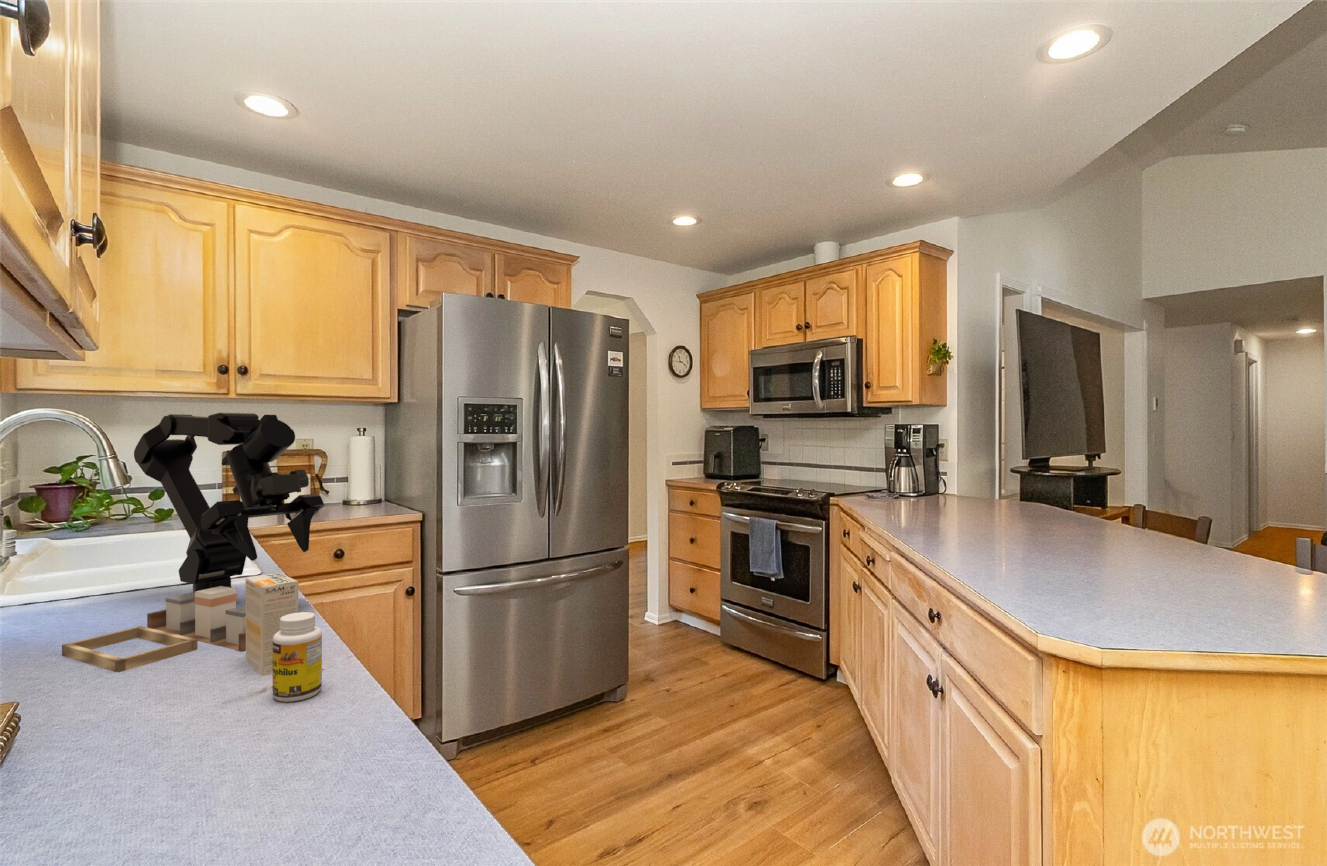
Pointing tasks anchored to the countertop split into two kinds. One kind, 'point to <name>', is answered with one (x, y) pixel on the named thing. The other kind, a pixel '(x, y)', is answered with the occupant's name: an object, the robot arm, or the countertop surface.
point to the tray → (87, 655)
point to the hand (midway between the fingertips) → (281, 555)
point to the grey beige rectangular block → (179, 610)
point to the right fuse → (235, 623)
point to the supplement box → (267, 616)
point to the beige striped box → (212, 608)
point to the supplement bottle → (297, 658)
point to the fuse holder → (188, 630)
